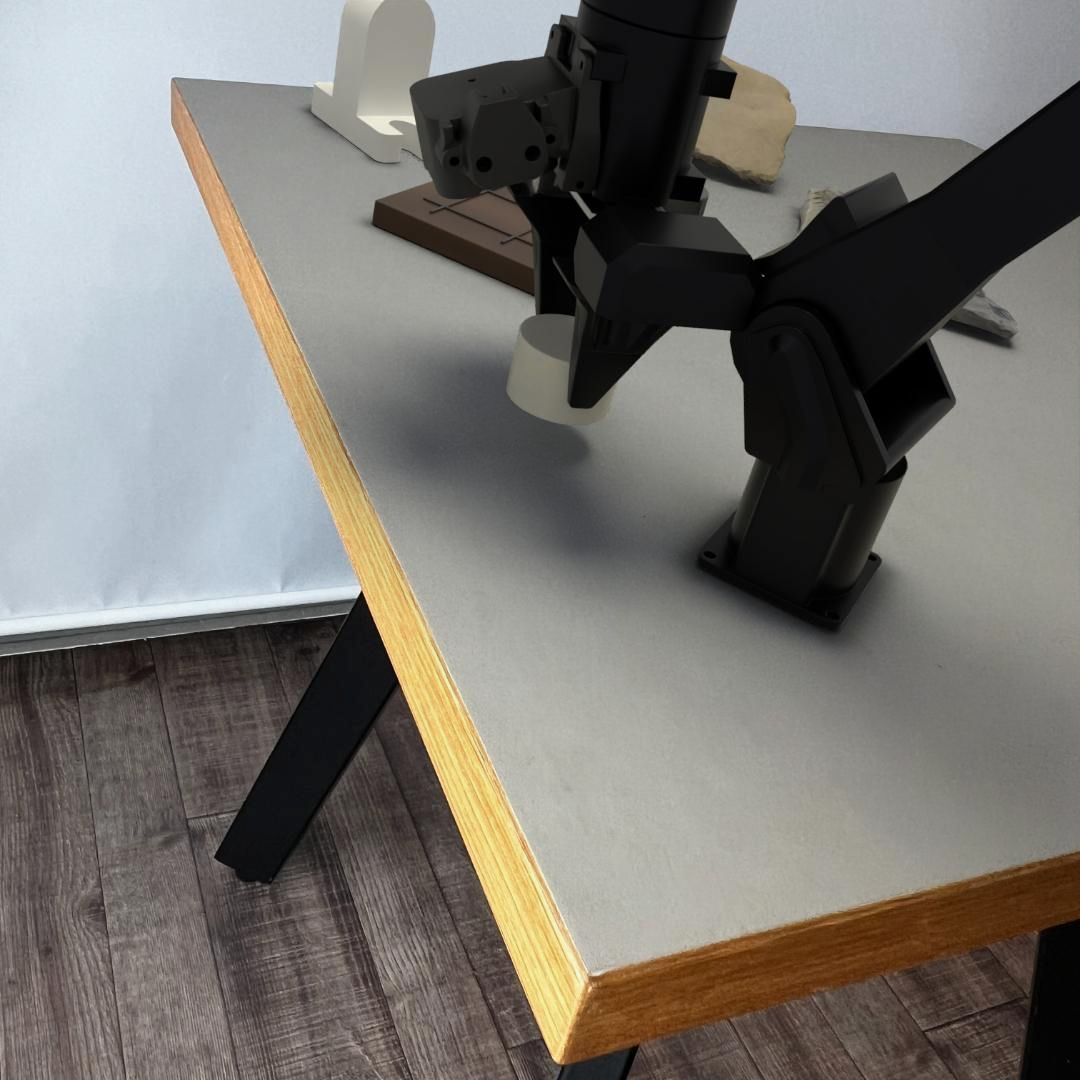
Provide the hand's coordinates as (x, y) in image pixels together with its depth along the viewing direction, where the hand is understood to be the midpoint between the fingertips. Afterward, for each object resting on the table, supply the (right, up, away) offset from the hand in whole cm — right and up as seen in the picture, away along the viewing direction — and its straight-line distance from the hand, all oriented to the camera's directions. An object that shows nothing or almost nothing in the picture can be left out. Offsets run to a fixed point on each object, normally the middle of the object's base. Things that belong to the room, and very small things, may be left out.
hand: (563, 377), depth 56 cm
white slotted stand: (-13, +21, +32) cm, 40 cm away
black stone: (+7, +13, +23) cm, 27 cm away
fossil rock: (+24, +12, +32) cm, 42 cm away
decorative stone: (+11, +23, +43) cm, 50 cm away
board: (0, +11, +22) cm, 25 cm away
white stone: (0, -1, +1) cm, 1 cm away
